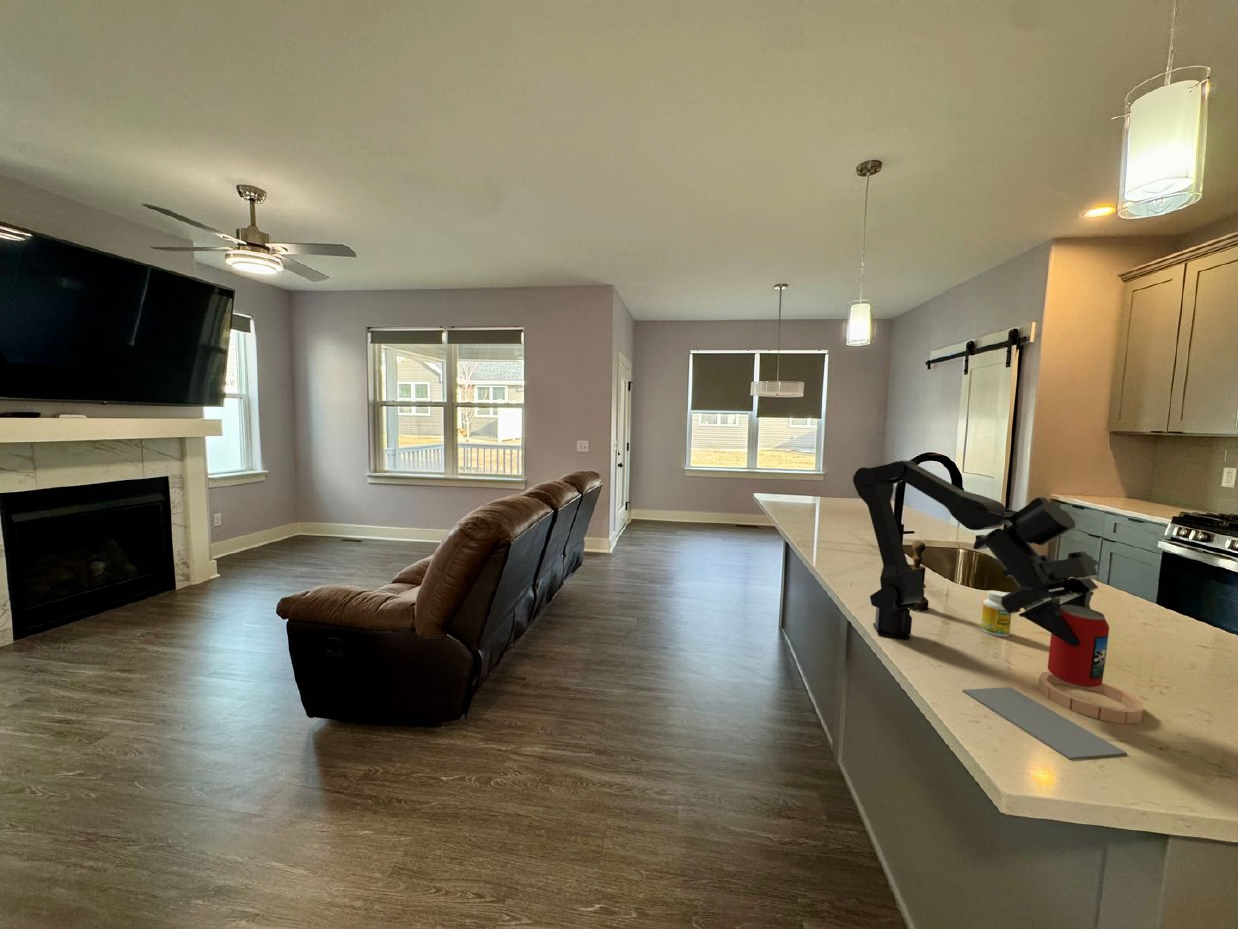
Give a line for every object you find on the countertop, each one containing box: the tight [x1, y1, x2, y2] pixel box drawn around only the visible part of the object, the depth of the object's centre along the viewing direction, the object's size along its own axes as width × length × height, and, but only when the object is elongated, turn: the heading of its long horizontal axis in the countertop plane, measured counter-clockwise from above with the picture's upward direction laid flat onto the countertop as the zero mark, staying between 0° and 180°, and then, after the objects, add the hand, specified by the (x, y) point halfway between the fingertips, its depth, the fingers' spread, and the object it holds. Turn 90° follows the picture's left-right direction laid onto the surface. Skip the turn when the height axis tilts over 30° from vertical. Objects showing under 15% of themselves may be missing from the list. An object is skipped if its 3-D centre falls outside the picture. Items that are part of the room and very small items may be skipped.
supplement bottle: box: [980, 590, 1012, 638], centre depth 114 cm, size 5×5×10 cm
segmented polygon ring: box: [1037, 671, 1144, 725], centre depth 85 cm, size 13×13×2 cm
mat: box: [961, 686, 1128, 760], centre depth 79 cm, size 18×10×1 cm, turn 9°
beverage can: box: [1047, 605, 1110, 689], centre depth 80 cm, size 7×7×12 cm
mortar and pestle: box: [909, 540, 929, 612], centre depth 129 cm, size 7×6×18 cm
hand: (1089, 642), depth 79 cm, fingers closed on beverage can, 7 cm apart
